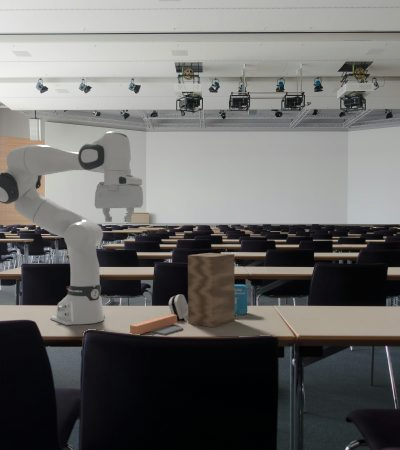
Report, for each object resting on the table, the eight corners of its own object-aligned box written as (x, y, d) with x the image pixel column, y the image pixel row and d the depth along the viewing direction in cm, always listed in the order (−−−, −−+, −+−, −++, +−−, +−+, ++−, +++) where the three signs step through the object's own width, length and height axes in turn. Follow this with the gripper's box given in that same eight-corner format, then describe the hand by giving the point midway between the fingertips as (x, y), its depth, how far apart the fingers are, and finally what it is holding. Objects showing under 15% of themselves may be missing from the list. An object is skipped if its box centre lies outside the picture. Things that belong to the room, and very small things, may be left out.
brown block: (188, 323, 178) (187, 255, 178) (209, 316, 189) (209, 252, 189) (213, 327, 171) (213, 256, 170) (234, 320, 182) (234, 254, 181)
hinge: (186, 321, 181) (177, 297, 181) (175, 325, 182) (166, 300, 182) (193, 312, 198) (185, 290, 198) (183, 316, 198) (175, 293, 199)
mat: (135, 329, 168) (135, 327, 168) (154, 324, 176) (154, 322, 176) (164, 335, 160) (164, 333, 160) (183, 329, 168) (183, 327, 168)
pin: (130, 333, 160) (130, 325, 160) (170, 321, 177) (170, 314, 177) (136, 335, 158) (136, 326, 158) (177, 322, 176) (177, 315, 176)
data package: (218, 314, 194) (218, 285, 194) (219, 312, 198) (219, 284, 198) (247, 314, 193) (247, 286, 192) (247, 312, 197) (247, 284, 197)
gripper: (89, 181, 159) (90, 221, 160) (131, 178, 147) (132, 222, 147) (104, 182, 164) (104, 221, 165) (145, 179, 152) (146, 221, 152)
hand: (118, 221), depth 156 cm, fingers open, 8 cm apart
